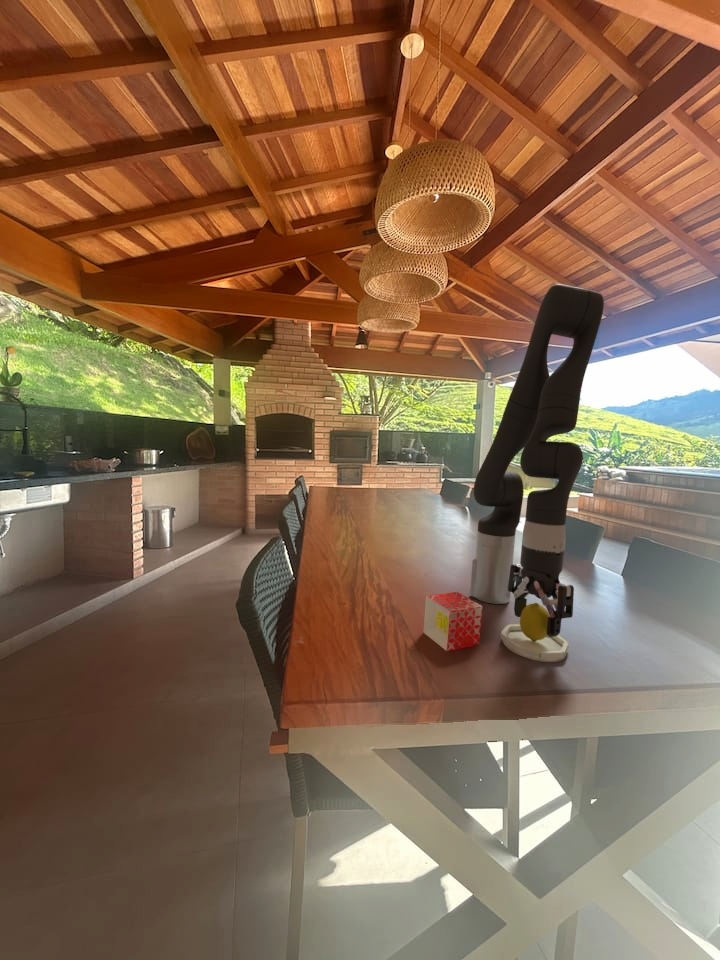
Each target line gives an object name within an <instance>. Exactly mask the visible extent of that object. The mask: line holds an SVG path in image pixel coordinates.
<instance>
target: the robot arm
mask: <svg viewBox="0 0 720 960" xmlns="http://www.w3.org/2000/svg"><path fill="white" fill-rule="evenodd" d="M604 304H605V301H604V297H603V295H602V293H600V292H598V291H596V290H592V289H587V288H581V287H577V286H574V285H573V286H572V285H567V284H562V283H556V284H553V285H551V287H549V289H548V290H547V291H546V293H545V295H544V296H543V299H542V301H541V304H540V306H539V309H538V313H537V316H536V319H535V321H534V325H533V329H532V333H531V336H530V339H529V342H528V344H527V345H528V346H527V349H526V352H525V355H524V358H523V362H522V365H521V367H520V370H519V372H518V375H517V376H516V377H517V378H516V379H515V382H514V385H513V387H512V390H511V392H510V395H509V397H508V400H507V403H506V406H505V408H504V410H503V414H502V417H501V420H500V423H499V425H498V428H497V431H496V434H495V436H494V437H493V441H492V442H491V443H492V444H491V445H490V448H489V449H488V452H487V454H486V455H485V456H486V457H485V458H484V461H483V462H482V464H481V467H480V469H479V471H478V472H477V475H476V477H475V480H474V485H473V497H474V499H475V501H476V503H477V504H478V505H480V506H481V507H482V506H483V507H491V508H493V507H494V509H493V511H491V513H489V514H488V515H487V516H484V517H482V518H480V519H479V520H478V524H477V532H476V543H475V544H476V547H475V558H474V559H473V560H472V562H471V564H472V565H471V574H470V575H471V576H470V587H469V588H470V589H469V596H470V597H473V598H474V599H476V600H478V601H480V602H484V603H487V604H493V605H504V604H508V603H509V602H510V599H511V593H512V594H513V598H514V606H513V607H514V608H513V610H514V611H513V612H514V615H515V617H517V618H520V617H521V613H522V611H523V609H524V608H525V607H526V606H527V601H528V599H527V597H528V596H529V595H534V597H536V598H538V599H539V600H540V601H541V603H542V606H543V607H544V606H545V609H546V610H547V612H548V613H549V616H548V623H547V635H548V636H550V637H553V636H557V635H560V634H561V627H562V620H563V619H569V618H571V619H572V617H573V615H574V614H573V613H574V612H573V611H574V594H575V593H574V592H575V588H574V586H573V585H572V584H564V583H561V582H560V575H561V573H562V572H563V570H564V569H563V568H564V556H565V547H566V522H567V521H566V520H567V511H568V504H569V503H568V502H569V499H570V495H571V493H572V488H573V486H574V483H575V481H576V479H577V478H578V475H579V472H580V470H581V468H582V465H583V461H584V454H583V451H582V448H581V447H580V446H579V444H577V443H574V442H570V441H547V440H549V439H550V438H551V437H553V436H558V435H563V434H567V433H570V432H572V431H574V429H576V425H577V421H578V415H579V408H580V401H581V399H580V398H581V393H582V386H583V382H584V378H585V374H586V371H587V369H588V365H589V362H590V358H591V355H592V353H593V349H594V347H595V342H596V339H597V336H598V333H599V330H600V329H599V328H600V325H601V322H602V317H603V314H604V307H605V305H604ZM552 335H554V336H559V337H565V338H568V339H569V338H570V339H572V340H573V344H572V348H571V350H570V352H569V354H568V355H567V357H566V358H565V359H564V361H562V363H560V365H559V366H558V367H557V368H556V369H555V370H554V371H553V372H552V373H551V374H550V372H549V366H548V349H549V345H550V340H551V337H552ZM520 451H521V455H520V459H519V464H520V468H521V471H522V472H523V474H524V475H526V476H527V477H529V478H541V479H553V480H558V482H557V484H556V485H555V486H554V487H552V488H547V489H537V490H532V491H530V492H529V493H528V495H527V499H526V508H525V520H524V525H523V530H522V537H521V539H522V540H521V551H520V561H519V562H520V563H518V564H517V563H516V564H514V555H515V554H514V553H515V543H516V531H517V528H518V526H519V524H520V521H521V513H522V506H523V500H524V493H525V492H524V482H523V478H522V477H521V474H519V473H518V472H516V471H514V470H508V467H509V465H510V464H511V463H512V461H513V460H514V458H515V457H516V456H517V455H518V454H519V452H520ZM551 597H552V599H550V598H551Z"/></svg>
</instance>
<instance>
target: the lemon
mask: <svg viewBox="0 0 720 960" xmlns="http://www.w3.org/2000/svg"><path fill="white" fill-rule="evenodd" d="M548 616H549V613H548V611H547V608H546V607H544V605H541V604H539V603H538V602H534V603H530V604H526V607H525V608H524V609H523V611H522V613H521V617H519V624H520V627H521V630H522V632H523V633H524V634H525V636H526V637H528V638H530V639H531V640H532V641H533V642H535V641H537V640H542V639H544V638H545V637H546V636H547V623H548Z"/></svg>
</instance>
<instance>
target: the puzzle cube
mask: <svg viewBox="0 0 720 960" xmlns="http://www.w3.org/2000/svg"><path fill="white" fill-rule="evenodd" d="M482 615H483V605H481V604H479V603H477V602H476V601H474V600H472V599H470V597H467V596H466V595H464V594H462V593H460V592H459V591H453V592H452V591H451V592H445V593H438V594H431V595H426V596H425V606H424V617H423V618H424V620H423V634H424V635H426V636H427V637H429V638H430V639H431V640H432V641H434V642H435V643H436V644H437V645H439V646H440V647H441V648H443V650H445V651H446V652H450V651H455V650H460V649H464V648H468V647H473V646H477V645H480V642H481V641H480V639H481V630H482V629H481V628H482V617H483V616H482Z"/></svg>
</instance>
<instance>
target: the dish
mask: <svg viewBox="0 0 720 960" xmlns="http://www.w3.org/2000/svg"><path fill="white" fill-rule="evenodd" d="M500 639H502V644H503V646H504V647H505V648H506V649H508V650H509V651H511V652H512V653H514V654H515V655H517V656H520V657H522V658H525V659H528V660H531V661H535V662H539V663H557V662H561V661H563V660H565V658H566V657H567V651H568V650H569V645H570V642H569V641H567V640H565V639H564V638H563V637H562V636H560V634H558V635H557V636H553V637H550V636H548V635H547V636H546V637H545V638H544V639H542V640H537V641H535V642H533V641H532V640H531V639H530V638H528V637H526V636H525V634H524V633H523V632H522V630H521V627H520V623H517V624H515V623H513V624H511V623H510V624H506V626H505V627H504V629H502V630H501V631H500Z"/></svg>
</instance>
